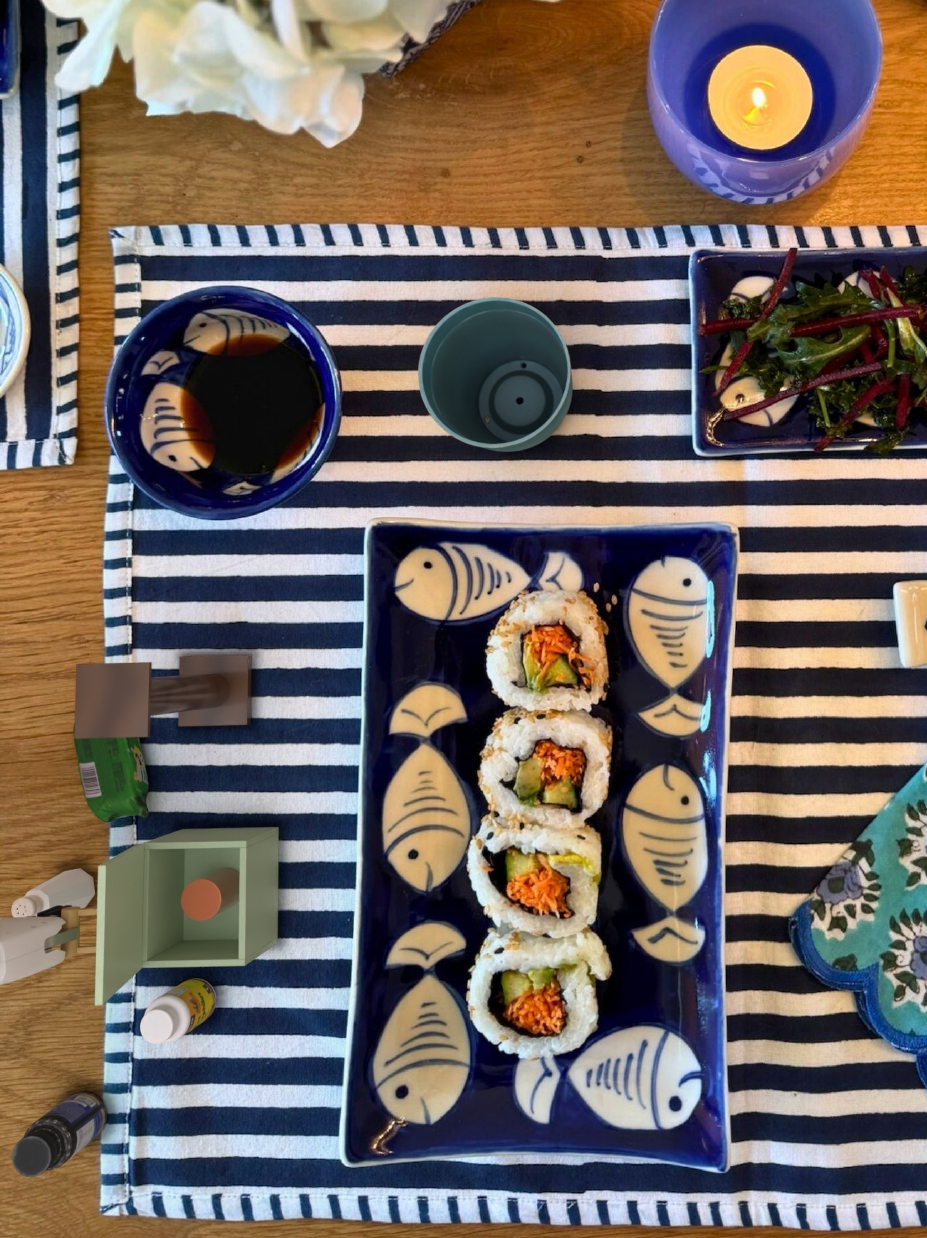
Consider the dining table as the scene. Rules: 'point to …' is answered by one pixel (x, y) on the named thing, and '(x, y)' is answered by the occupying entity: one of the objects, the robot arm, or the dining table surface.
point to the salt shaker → (56, 893)
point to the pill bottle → (59, 1134)
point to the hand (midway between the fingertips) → (65, 918)
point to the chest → (229, 932)
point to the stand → (161, 695)
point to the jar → (211, 894)
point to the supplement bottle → (178, 1011)
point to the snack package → (113, 776)
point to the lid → (113, 923)
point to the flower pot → (496, 374)
